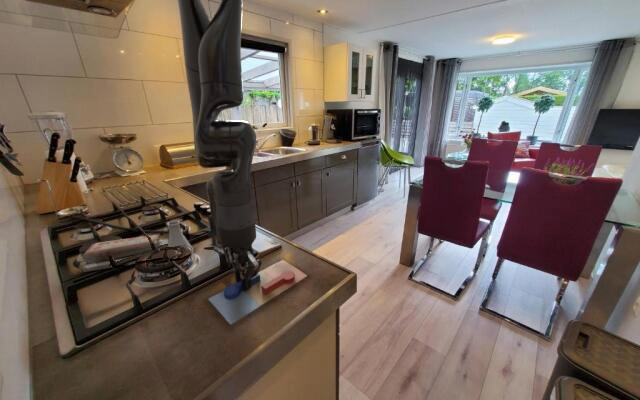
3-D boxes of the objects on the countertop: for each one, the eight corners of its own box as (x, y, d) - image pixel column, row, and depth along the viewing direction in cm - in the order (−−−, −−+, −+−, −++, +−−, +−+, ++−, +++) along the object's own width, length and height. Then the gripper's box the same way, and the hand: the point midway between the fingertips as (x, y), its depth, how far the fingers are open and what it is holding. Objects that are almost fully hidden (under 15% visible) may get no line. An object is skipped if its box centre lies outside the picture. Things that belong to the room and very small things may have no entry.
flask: (191, 244, 77) (185, 214, 74) (196, 255, 72) (190, 224, 68) (164, 251, 73) (156, 221, 70) (167, 263, 68) (159, 231, 64)
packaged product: (76, 257, 62) (93, 238, 70) (83, 274, 64) (98, 253, 72) (160, 244, 68) (166, 228, 77) (164, 259, 70) (169, 241, 78)
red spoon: (268, 297, 56) (267, 291, 55) (259, 290, 58) (258, 283, 58) (297, 279, 62) (297, 273, 61) (288, 273, 64) (288, 267, 64)
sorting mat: (230, 327, 49) (230, 324, 49) (208, 300, 56) (208, 298, 55) (307, 277, 64) (307, 275, 63) (282, 261, 70) (282, 259, 70)
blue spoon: (254, 276, 63) (254, 270, 62) (262, 282, 61) (262, 276, 60) (221, 294, 57) (220, 287, 56) (228, 302, 55) (227, 295, 54)
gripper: (270, 225, 51) (275, 293, 57) (235, 206, 59) (242, 267, 66) (237, 238, 46) (245, 311, 52) (204, 215, 54) (215, 280, 61)
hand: (244, 286), depth 59 cm, fingers closed
